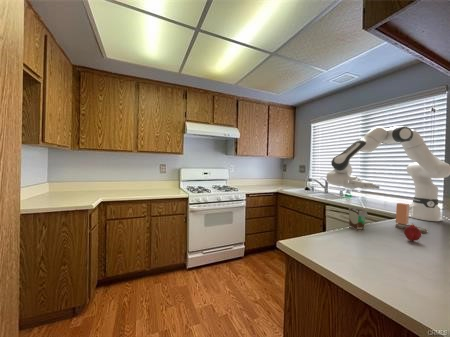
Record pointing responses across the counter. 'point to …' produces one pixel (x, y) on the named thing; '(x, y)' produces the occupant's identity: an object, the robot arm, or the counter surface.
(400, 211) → the orange rectangular block
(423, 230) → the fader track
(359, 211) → the food container
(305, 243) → the counter surface
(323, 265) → the counter surface
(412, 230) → the onion
